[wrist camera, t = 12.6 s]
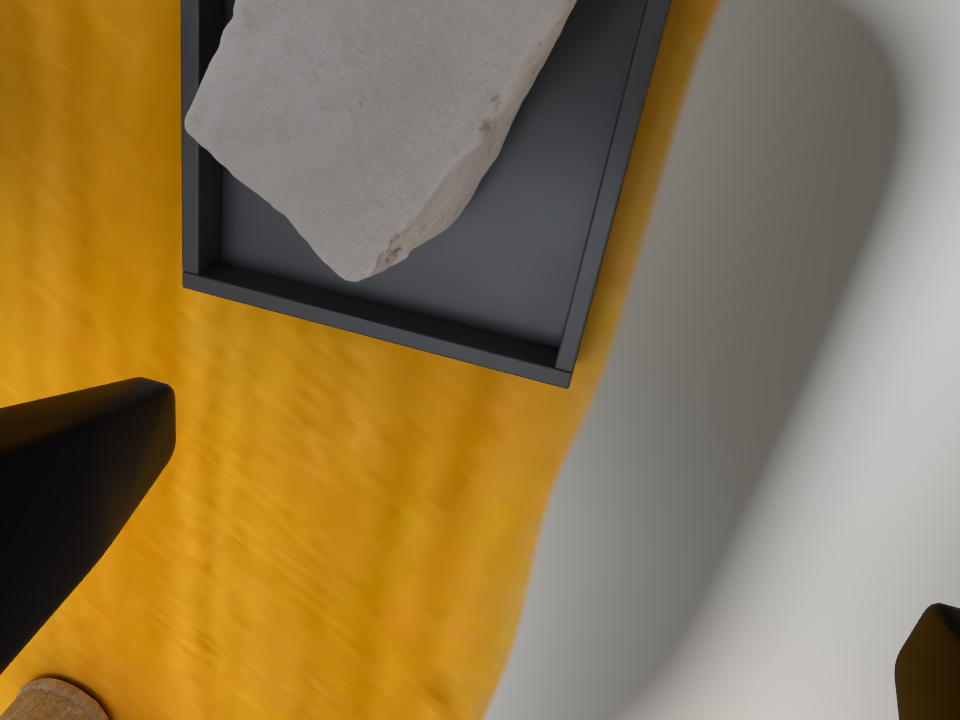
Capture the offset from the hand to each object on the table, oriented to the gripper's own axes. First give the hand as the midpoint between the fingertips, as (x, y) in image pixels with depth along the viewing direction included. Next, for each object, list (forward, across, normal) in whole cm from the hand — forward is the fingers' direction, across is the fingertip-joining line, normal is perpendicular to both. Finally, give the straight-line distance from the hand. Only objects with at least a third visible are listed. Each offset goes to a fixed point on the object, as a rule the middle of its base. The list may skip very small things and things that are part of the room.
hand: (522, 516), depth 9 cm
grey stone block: (+12, +5, -4) cm, 13 cm away
